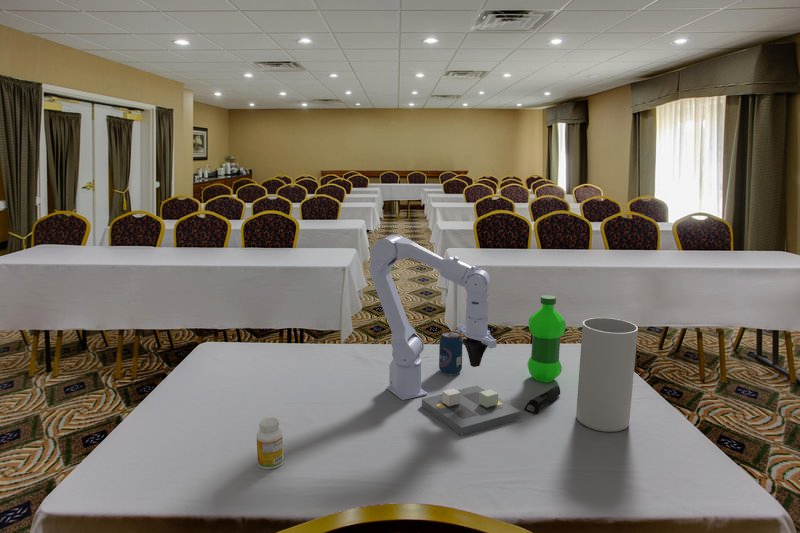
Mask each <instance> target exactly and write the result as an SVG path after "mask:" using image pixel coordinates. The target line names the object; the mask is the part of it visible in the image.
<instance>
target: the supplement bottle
mask: <svg viewBox="0 0 800 533" xmlns="http://www.w3.org/2000/svg"><path fill="white" fill-rule="evenodd" d="M258 424H259V430H258V431H257V433H256V451H257V452H256V453H257V456H256V457H257V464H258V466H259V468H260V469H263V470H273V469H277V468H279V467H280V466H282V465H283V463H284V442H283V438H284V437H283V430H282V429H281V428H279V426H280V423H279V419H278V418H276V417H264V418H262V419H261V420H260V421H259V423H258Z"/></svg>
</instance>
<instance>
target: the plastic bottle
mask: <svg viewBox="0 0 800 533" xmlns="http://www.w3.org/2000/svg"><path fill="white" fill-rule="evenodd" d="M540 304H541V308H539V309H538V310H537V311H535V312H534V313H533V314H531V315H530V317H529V318H528V322H527V323H528V330H529V332H530V333H531V335H532V338H531V339H532V340H531V353H530V357H529V359H528V361H527V369H528V371H529V375H531V377H533V379H535V380H534V381H537V382H540V383H552V382H553V381H554V380H555V379H556V378H558V377H559V376H560V375H561V373H562V371H563V370H562V369H563V367H562V364H561V361H560V347H561V345H560V344H561V337H562V336H563V335H564V334H565V332H566V328H567V327H566V326H567V324H566V320H565V318H564V317H563V316H562V315H561V314H560V313H559V312H558V310H556V309H554V307H555V305H556V304H557V297H556V296H554V295H548V294H544V295H541V296H540Z"/></svg>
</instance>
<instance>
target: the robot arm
mask: <svg viewBox="0 0 800 533" xmlns="http://www.w3.org/2000/svg"><path fill="white" fill-rule="evenodd" d="M369 252H370V262H369V269H368V270H369V275H370V278H371V281H372V284H373V286H374V289H375V291H376V294H377V297H378V299H379V303H380V305H381V307H382V311H383V312H384V315H385V319H386V321H387V323H388V326H389V329H390V332H391V336H390V344H391V348H392V354H391V356H392V360H391V362H390V364H389V371H388V372H389V373H388V374H389V375H388V378H389V381H388V384H389V385H387V386H386V389H387V390H388V391H390V392H391V393H393V394H394V395H395V396H396V397H397V398H399V399H400V400H402V401H406V400H411V399H414V398H418V397H423V396H426V395H428V392H427V391H426V390H424V389H423V388H422V358H421V357H420V356H421V355H420V354H422V352H423V351H424V348H425V345H424V344H425V343H424V341H423V339H422V338H421V337H420V336H419V335H418V333H417V331H416V329H415V328H414V327H413V326H411V324H410V322H409V320H408V317H407V314H406V310H405V308H404V306H403V303H402V300H401V297H400V295H399V293H398V290H397V287H396V284H395V281H394V279H393V276H392V273H391V271H392V269H393V267H394V265H395V263H396V262H397V260H398V261H399V260H403V259H413V260H415V261H417V262H420V263H422V264H424V265H427V266H429V267H431V268H434V269H436V270H437V271H438V273H439V275H440V277H442V278H444V279H446V280H447V281H450V282H452V283H454V284H456V285H458V286H460V287H462V288H463V287H464V289H465V291H466V302H465V304H466V305H465V324H458V325H457V330H456V332H458V333H460V334H463V335H464V336H465V337H466V338H464V339H462V340H463V345H464V347H465V349H466V352H467V355H468V359H469V363H470V364H469V365H470V366H471V367H472V368H476V367H480V366H481V362H482V359H483V357H484V354H485V352H486V350H487V348H488V349H494V348H497V339H495V338H494V337H493V336H492V335H491V331H490V330H489V329H488V327H489V304H490V302H489V301H490V300H489V296H490V295H489V289H488V288H489V287H490V285H491V283H492V278H491V275H490V273H489V272H488V271H486V270H485V269H484V268H483V267H482V268H479V267H477V266H475V265H470V264H467V263H465V262H464V261H462V260H461V261H460V259H461V258H460V257H459V256H454V257H452V256H447V257H442V256H440V255H438V254H437V253H435V252H433V251H431V250H429V249H428V248H425V247H424V246H422V245H419V243H417V242H415V241H413V240H411V239H410V238H408V237H406V236H405V237H403V236H402V235H400V234H397V233H392V234H389V235H388V236H386V237H384V238H380V239H378V240H376V241H375V242H374V243H373V246H372V247H371V249H370V251H369Z"/></svg>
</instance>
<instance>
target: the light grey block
mask: <svg viewBox="0 0 800 533" xmlns="http://www.w3.org/2000/svg"><path fill="white" fill-rule="evenodd" d="M458 390H459V389H455V388H454V387H453V388H450V389H449V388H448V389H445V390H442V393H441V394H442V402H443V403H445V404H446V405H447V406H452V405H456V404H460V401H461V392H459V391H458Z"/></svg>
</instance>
